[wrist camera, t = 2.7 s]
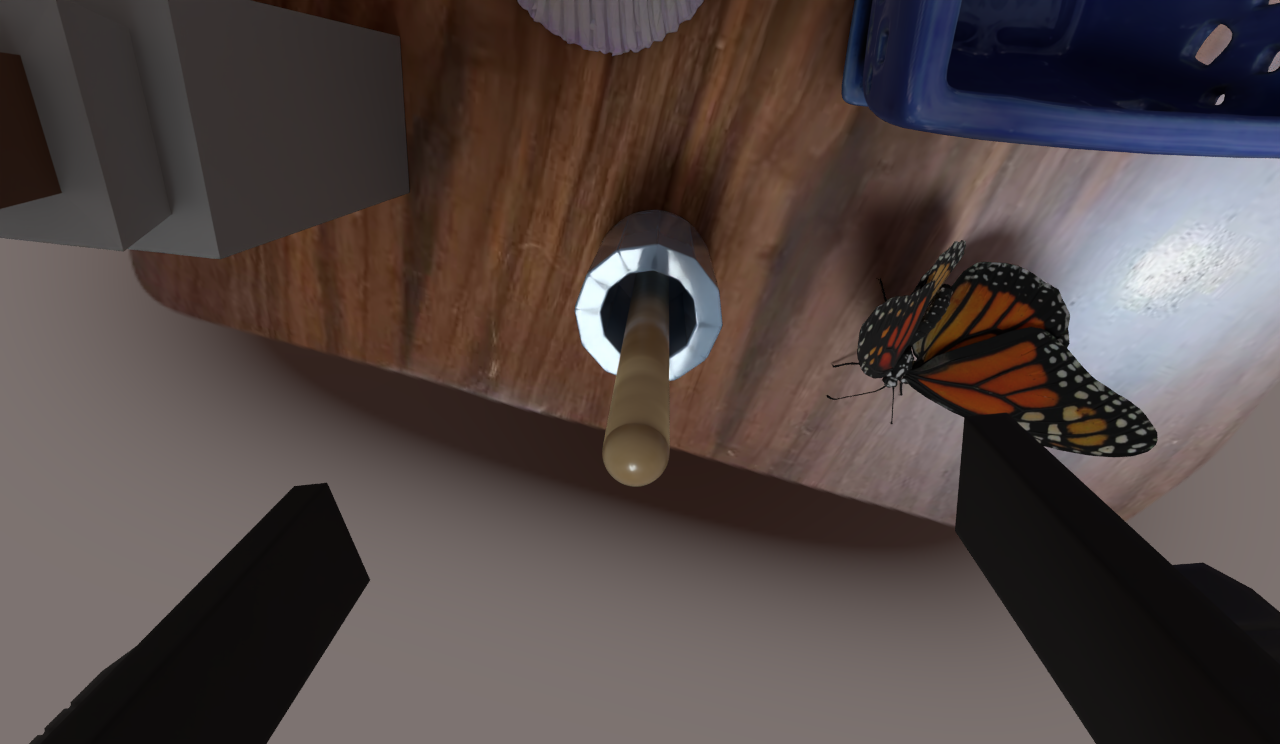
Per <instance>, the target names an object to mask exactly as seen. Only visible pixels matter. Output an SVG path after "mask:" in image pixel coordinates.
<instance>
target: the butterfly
mask: <svg viewBox="0 0 1280 744" xmlns="http://www.w3.org/2000/svg"><path fill="white" fill-rule="evenodd" d="M965 242H966V241H963V240H961V241H960V242H956V241H955V242H954V243H953V245H952V246H951V247H950V248H949V249H948V250H947V251H945V252H944V253H943V254H941V255H940V256H939V258H938V259H937V261H936V263H935V264H934V266H932V267H931V269H930V270H929V271H928V272H927V273H926V274H925V275H924V276H923V277H922V278H921V280H920V281H919V283H918V285H917V286H916V288H915V290H914V291H913V292H912V294H911V295H910V296H902V297H901V296H896V297H895V298H891V299H888V300H887V298H886V297H885V292H884V289H883V284H882V281H881V278H880V279H878V280H879V281H880V284H881V287H882V292H883V296H884V299H885V303H883V304H882V305H880V306H878V307H876V309H875V310H874V312H873V313H872V314H871V316H870V317H869V318H868V319H867V320H866V321H865V323H864V324H863V325H862V327H861V330H860V334H859V341H858V349H857V356H858V360H859V362H858V363H853V362H851V363H845V364H841V365H835V366H834V365H833V367H839V366H844V365H849V364H851V365H854V364H859V365H860V367H861V369H862V371H863V372H864V373H865V374H866V375H868V376H870V377H872V378H882V377H883V379H882V381H883V382H884V385H885V386H884V387H890V388H891V387H893V400H894V387H896V386H897V381H898V380H899V381H901V384H900V395H902V384H903V383H905V384H909V385H910V386H911V387H912V388H914V389H915V390H916V391H918V392H919V393H921V394H922V395H924V396H925V397H927V398H928V399H930V400H932V401H934V402H935V403H937V404H939V405H941V406H942V407H944V408H946V409H948V410H950V411H951V412H953V413H956V414H958V415H960V416H963V417H967V416H977V415H986V414H996V413H1006V412H1007V413H1008V414H1009V415H1010V416H1011V417H1012V418H1013V419H1014V420H1015V421H1017V422H1018V423H1019V424H1020V425H1021V426H1022V427H1023V428H1024V429H1025V430H1026V431H1027V432H1028V433H1030V434H1031V435H1032V436H1033V437H1034V438H1035V439H1036V440H1037V441H1038V442H1039V443H1040V444H1041V445H1043V446H1046V447H1050V448H1054V449H1057V450H1062V451H1067V452H1073V453H1079V454H1084V455H1091V456H1104V457H1127V456H1135V455H1138V454H1142V453H1145V452H1148V451H1149V450H1150V449H1151V448H1153V447H1154V446H1155V445H1156V443H1157V432H1156V430H1155V428H1154V427H1153V425H1152V424H1151V422H1150V421H1149V419H1148V418H1147V416H1146V415H1145V414H1144V413H1143V412H1142V411H1141V410H1140V408H1138V407H1136V406H1135V405H1134V404H1133V403H1132V402H1130V401H1129V400H1127V399H1125V398H1124V397H1122V396H1120V395H1118V394H1117V393H1115V392H1114V391H1112V390H1111V389H1110V388H1108V387H1107V386H1105V385H1103V384H1102V383H1100V382H1099V381H1097V380H1096V379H1094V378H1093V377H1092V376H1091V375H1090V374H1089V373H1088V372H1087V371H1086V370H1085V369H1084V368H1083V366H1082V365H1081V364H1080V363H1079V362H1078V361H1077V359H1076V358H1075V357H1074V356H1073V355H1072V354H1071V352H1070V351H1069V350H1068V349H1067V347H1068V345H1069V332H1068V326H1069V320H1070V314H1069V312H1068V309H1067V307H1066V305H1065V303H1064V301H1063V299H1062V297H1061V295H1060V292H1059V290H1058V289H1056V288H1054V287H1053V286H1051V285H1049V284H1047V283H1045V282H1043V281H1042V280H1041V279H1040V278H1038V277H1037V276H1036V275H1034V274H1033V273H1031V272H1029V271H1027V270H1026V269H1024V268H1022V267H1019V266H1016V265H1011V264H1006V263H997V262H979V263H976V264H974V265H973V266H971V267H970V268H968V269H967V270H965V271H964V272H963V273H962V274H961V275H960V277H959V278H958V279H957V280H956V282H955V283H954V284H953V285H952V287H951V286H950V285H948V284H943V283H944V282H945V280H946V279H947V277H948V276H949V274H950V273H951V272H952V270H953V269H954V267H955V266H956V264H957V263H958V262H959V260H960V259H961V257H962V256H963V254H964V249H965V247H966V244H965ZM942 284H943V285H942ZM938 290H939V291H938ZM934 297H935V298H934ZM931 301H932V303H931ZM930 303H931V304H930ZM929 304H930V306H929ZM928 306H929V308H928V309H927V307H928ZM926 309H927V310H926ZM925 311H926V313H925ZM924 313H925V316H923V315H924ZM911 347H912V348H911ZM911 349H912V350H913V354H914V355H915V357H916V358H917V360H916V361H913V360H914V357H913V354H912V351H911ZM902 376H903V378H902ZM901 378H902V379H901ZM884 387H882V388H880V389H879V390H881V389H883V388H884ZM879 390H876V391H879ZM876 391H873V392H876ZM868 393H872V392H868ZM863 394H867V393H863ZM859 395H862V394H859ZM826 396H827V397H828V398H830V399H832V400H837V399H833V398H831V397H830V396H828V395H826ZM853 396H857V395H853ZM847 397H851V396H847ZM843 398H846V397H843ZM838 399H841V398H838ZM892 418H893V404H892ZM891 424H893V423H892V421H891Z"/></svg>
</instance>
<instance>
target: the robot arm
mask: <svg viewBox="0 0 1280 744" xmlns="http://www.w3.org/2000/svg"><path fill="white" fill-rule="evenodd" d="M955 531H956V533H957V535H958V536H959V537H960V539H961V540H962V542H963V544H964V545H965V547H966V548H967V550H968V551H969V553H970V554H971V556H972V557H973V559H974V560H975V561H976V563H977V565H978V566H979V568H980V569H981V571H982V572H983V574H984V575H985V577H986V578H987V580H988V581H989V583H990V584H991V586H992V587H993V589H994V590H995V592H996V593H997V595H998V596H999V598H1000V599H1001V601H1002V603H1003V604H1004V605H1005V607H1006V609H1007V610H1008V611H1009V613H1010V614H1011V616H1012V617H1013V619H1014V621H1015V622H1016V623H1017V625H1018V627H1019V628H1020V630H1021V631H1022V633H1023V634H1024V636H1025V637H1026V639H1027V640H1028V642H1029V643H1030V645H1031V646H1032V648H1033V649H1034V651H1035V652H1036V654H1037V655H1038V657H1039V658H1040V660H1041V661H1042V663H1043V664H1044V666H1045V667H1046V669H1047V670H1048V672H1049V673H1050V675H1051V676H1052V678H1053V679H1054V681H1055V683H1056V684H1057V685H1058V687H1059V689H1060V690H1061V692H1062V693H1063V694H1064V696H1065V698H1066V699H1067V701H1068V702H1069V704H1070V705H1071V706H1072V708H1073V710H1074V711H1075V713H1076V714H1077V716H1078V717H1079V719H1080V720H1081V722H1082V723H1083V725H1084V726H1085V728H1086V729H1087V731H1088V732H1089V734H1090V735H1091V737H1092V738H1093V740H1094V741H1095V743H1096V744H1280V612H1279V611H1278V610H1277V609H1275V608H1274V607H1273V606H1272V605H1271V604H1269V603H1268V602H1267V601H1266V600H1265V599H1263V598H1262V597H1261V596H1260V595H1259V594H1257V593H1256V592H1255V591H1254V590H1253V589H1251V588H1249V587H1247V586H1246V585H1244V584H1242V583H1240V582H1238V581H1236V580H1234V579H1233V578H1231V577H1229V576H1227V575H1225V574H1223V573H1221V572H1220V571H1217V570H1216V569H1214V568H1212V567H1210V566H1208V565H1206V564H1205V563H1193V564H1180V565H1172V564H1170V563H1169V562H1168V561H1167V560H1166V559H1165V558H1164V557H1163V556H1162V555H1161V554H1160V553H1159V552H1157V551H1156V550H1155V549H1154V548H1153V547H1152V546H1151V545H1150V544H1149V543H1148V542H1147V541H1145V540H1144V539H1143V538H1142V537H1141V536H1140V535H1139V534H1138V533H1137V532H1136V531H1135V530H1134V529H1133V528H1131V527H1130V526H1129V525H1128V524H1127V523H1126V522H1125V521H1124V520H1123V519H1122V518H1121V517H1120V516H1118V515H1117V514H1116V513H1115V512H1114V511H1113V510H1112V509H1111V508H1110V507H1109V506H1108V505H1107V504H1105V503H1104V502H1103V501H1102V500H1101V499H1100V498H1099V497H1098V496H1097V495H1096V494H1095V493H1093V492H1092V491H1091V490H1090V489H1089V488H1088V487H1087V486H1086V485H1085V484H1084V483H1083V482H1082V481H1080V480H1079V479H1078V478H1077V477H1076V476H1075V475H1074V474H1073V473H1072V472H1071V471H1070V470H1069V469H1067V468H1066V467H1065V466H1064V465H1063V464H1062V463H1061V462H1060V461H1059V460H1058V459H1057V458H1056V457H1054V456H1053V455H1052V454H1051V453H1050V452H1049V451H1048V450H1047V449H1046V448H1045V447H1044V446H1043V445H1041V444H1040V443H1039V442H1038V441H1037V440H1036V439H1035V438H1034V437H1033V436H1032V435H1031V434H1030V433H1028V432H1027V431H1026V430H1025V429H1024V428H1023V427H1022V426H1021V425H1020V424H1019V423H1018V422H1017V421H1015V420H1014V419H1013V418H1012V417H1011V416H1010V415H1009V414H1008V413H1007V412H1006V413H996V414H986V415H977V416H967V417H965V418H964V430H963V442H962V454H961V466H960V478H959V490H958V502H957V514H956V526H955ZM369 581H370V579H369V576H368V574H367V572H366V570H365V567H364V565H363V563H362V561H361V558H360V556H359V554H358V552H357V549H356V547H355V545H354V542H353V541H352V538H351V536H350V533H349V531H348V529H347V527H346V524H345V522H344V520H343V518H342V515H341V513H340V511H339V509H338V506H337V504H336V502H335V500H334V497H333V495H332V493H331V490H330V488H329V486H328V484H327V483H321V484H311V485H301V486H294V487H293V488H292V489H291V490H290V491H289V492H288V493H287V494H286V495H285V496H284V497H283V498H282V499H281V500H280V501H279V502H278V503H277V504H276V505H275V506H274V507H273V508H272V509H271V510H270V511H269V512H268V513H267V514H266V515H265V517H263V518H262V520H261V521H260V522H259V523H258V524H257V525H256V526H255V527H254V528H253V529H252V530H251V531H250V532H249V533H248V534H247V535H246V536H245V537H244V538H243V539H242V540H241V541H240V542H239V543H238V544H237V545H236V546H235V547H234V548H233V549H232V550H231V551H230V552H229V553H228V554H227V555H226V556H225V557H224V558H223V559H222V560H221V561H220V562H219V563H218V564H217V565H216V566H215V567H214V568H213V569H212V570H211V571H210V572H209V573H208V574H207V575H206V576H205V577H204V578H203V579H202V580H201V581H200V582H199V583H198V585H196V587H194V588H193V589H192V590H191V591H190V592H189V594H187V595H186V596H185V598H184V599H183V600H182V601H181V602H180V603H179V604H178V605H177V606H176V607H175V608H174V609H173V610H172V611H171V612H170V613H169V614H168V615H167V616H166V617H165V618H164V619H163V620H162V621H161V622H160V623H159V624H158V625H157V626H156V627H155V628H154V629H153V630H152V631H151V632H150V633H149V634H148V635H147V636H146V637H145V638H144V639H143V640H142V641H141V642H140V643H139V644H138V645H137V646H136V647H135V648H133V649H132V650H131V651H129V652H128V653H127V654H125V655H124V656H122V657H121V658H120V659H118V660H117V661H116V662H114V663H113V664H111V665H110V666H109V667H107V668H106V669H104V670H103V671H102V672H101V673H100V674H99V675H98V676H97V677H96V678H95V679H94V680H93V681H92V682H91V683H90V684H89V685H88V686H87V687H86V688H85V689H84V690H83V691H82V692H81V693H80V694H79V695H78V696H77V697H76V698H75V699H74V700H73V701H72V702H71V706H70V707H69V708H68V709H64V710H63V711H62V712H61V713H60V714H59V715H58V716H57V717H55V719H53V721H52V722H50V723H49V725H47V726H46V728H45V732H44V734H43V735H37V736H36V737H35V738H34V740H32V741H31V742H30V743H29V744H267V742H268V740H269V739H270V737H271V736H272V734H273V732H274V731H275V729H276V728H277V726H278V724H279V723H280V721H281V720H282V718H283V717H284V715H285V714H286V712H287V710H288V709H289V707H290V706H291V704H292V702H293V701H294V699H295V698H296V696H297V695H298V693H299V691H300V690H301V688H302V687H303V685H304V684H305V682H306V680H307V679H308V677H309V676H310V674H311V672H312V671H313V669H314V668H315V666H316V665H317V663H318V661H319V660H320V658H321V657H322V655H323V654H324V652H325V650H326V649H327V647H328V646H329V644H330V643H331V641H332V639H333V638H334V636H335V635H336V633H337V631H338V630H339V628H340V627H341V625H342V624H343V622H344V620H345V618H346V617H347V616H348V614H349V612H350V611H351V609H352V608H353V606H354V605H355V603H356V601H357V600H358V598H359V597H360V595H361V594H362V592H363V590H364V589H365V587H366V586H367V584H368V583H369Z"/></svg>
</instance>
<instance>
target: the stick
mask: <svg viewBox="0 0 1280 744" xmlns="http://www.w3.org/2000/svg"><path fill="white" fill-rule="evenodd" d="M668 459H669V276H666V275H664V274H661V273H659V272H656V271H647V272H640V273H636V276H635V281H634V286H633V291H632V297H631V302H630V307H629V312H628V318H627V323H626V328H625V333H624V339H623V344H622V349H621V354H620V360H619V365H618V370H617V375H616V381H615V386H614V391H613V396H612V402H611V407H610V412H609V417H608V422H607V428H606V433H605V438H604V443H603V461H604V464H605V466H606V469H607V470H608V472H609V473H610V475H612V476H613V477H614V478H615V479H616V480H617V481H619V482H620V483H623V484H625V485H628V486H643V485H647V484H649V483H651V482H653V481H654V480H656V479H657V478H658V477H659V476H660V475H661V474H662V473H663V471H664V470H665V468H666V466H667V463H668Z"/></svg>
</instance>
